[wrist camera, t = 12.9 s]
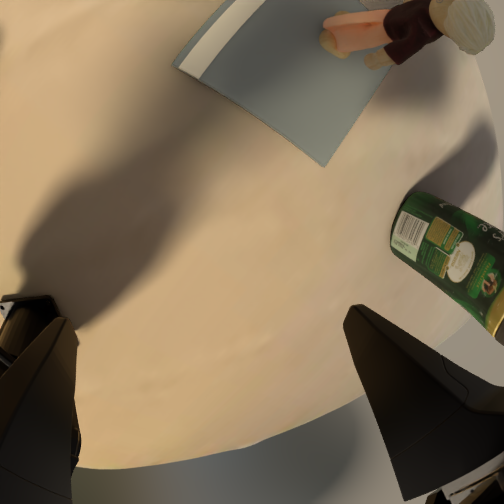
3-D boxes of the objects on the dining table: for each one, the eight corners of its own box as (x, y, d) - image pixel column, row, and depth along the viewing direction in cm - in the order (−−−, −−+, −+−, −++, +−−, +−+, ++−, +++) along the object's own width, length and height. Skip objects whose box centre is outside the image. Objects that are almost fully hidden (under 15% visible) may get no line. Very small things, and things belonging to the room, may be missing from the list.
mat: (171, 65, 14) (171, 63, 13) (287, -52, 10) (291, -55, 10) (321, 166, 20) (325, 168, 19) (398, 49, 17) (404, 49, 16)
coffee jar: (447, 203, 27) (566, 280, 11) (422, 260, 30) (528, 351, 14) (405, 178, 23) (571, 275, 8) (376, 251, 26) (513, 374, 11)
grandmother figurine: (332, -7, 13) (470, -48, 2) (369, 20, 14) (508, 6, 4) (298, 64, 15) (464, 43, 5) (340, 90, 17) (501, 106, 6)
